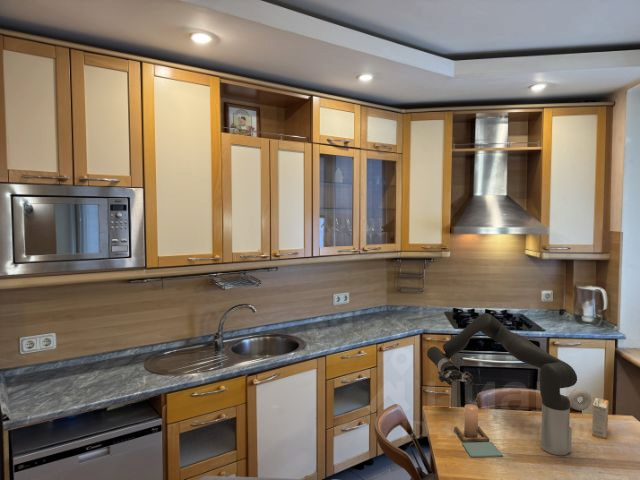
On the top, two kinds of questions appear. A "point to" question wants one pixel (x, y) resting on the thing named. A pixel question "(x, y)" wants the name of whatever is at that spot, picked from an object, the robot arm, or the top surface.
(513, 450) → the top surface
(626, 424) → the top surface
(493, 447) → the mat
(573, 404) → the grey round disc
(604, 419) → the supplement box
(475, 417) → the tall tan cylinder
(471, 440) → the holder
